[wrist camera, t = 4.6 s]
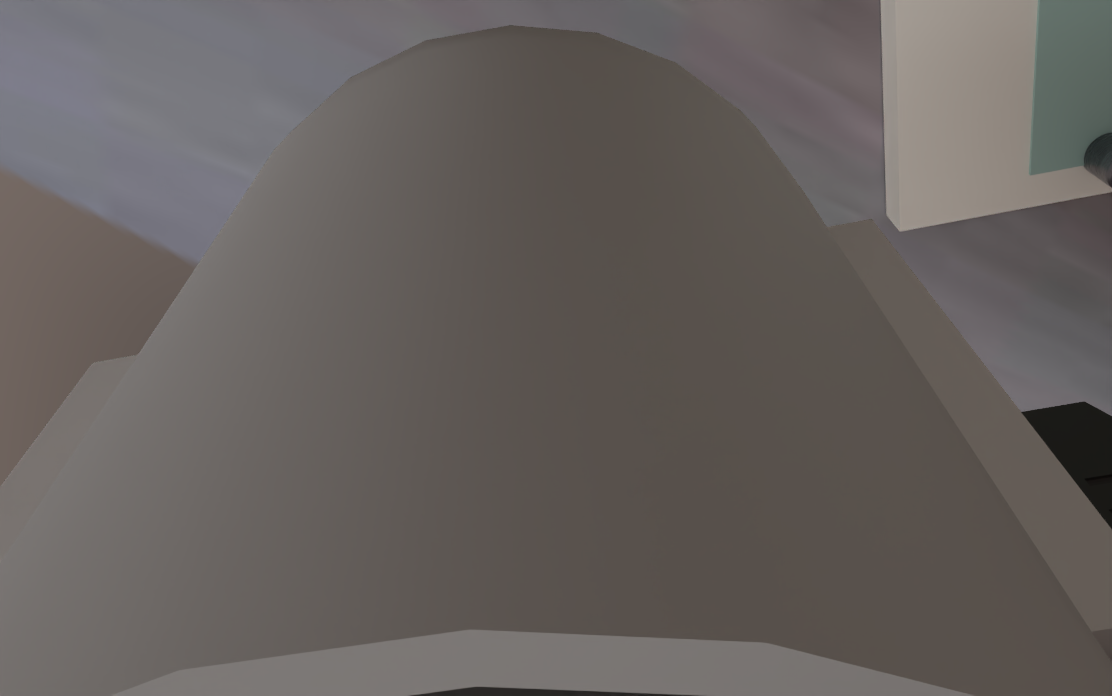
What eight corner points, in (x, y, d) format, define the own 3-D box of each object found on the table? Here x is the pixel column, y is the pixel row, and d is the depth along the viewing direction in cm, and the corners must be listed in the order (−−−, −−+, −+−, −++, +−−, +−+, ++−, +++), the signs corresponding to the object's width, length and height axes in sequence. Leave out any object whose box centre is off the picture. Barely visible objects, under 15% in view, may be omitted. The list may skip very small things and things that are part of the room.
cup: (922, 283, 13) (1542, 1090, 5) (433, 680, 16) (347, 1502, 8) (502, -139, 10) (418, 175, 2) (29, 449, 14) (-620, 1335, 6)
